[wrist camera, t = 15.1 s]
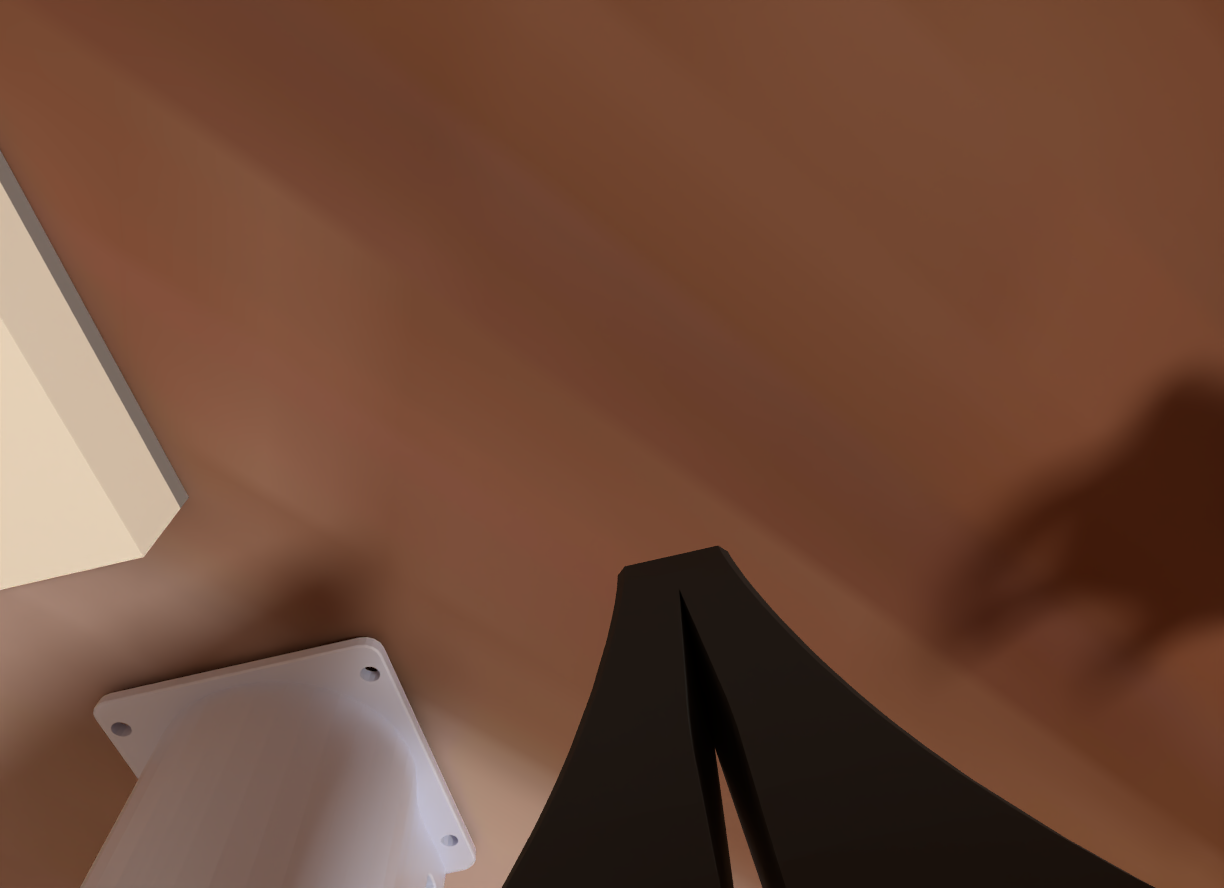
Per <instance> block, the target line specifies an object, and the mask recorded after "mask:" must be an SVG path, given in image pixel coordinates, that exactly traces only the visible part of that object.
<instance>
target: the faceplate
mask: <svg viewBox="0 0 1224 888" xmlns="http://www.w3.org/2000/svg"><path fill="white" fill-rule="evenodd" d="M188 498H189V497H188V495H187V493H186V492H185V490H184V488H183V486H182V484H181V482H180V481H179V479H178V477H177V475H176V473H175V471H174V469H173V468H172V466H171V464H170V462H169V460H168V458H167V457H166V455H165V453H164V451H163V449H162V447H161V446H160V444H159V442H158V440H157V438H156V436H155V434H154V433H153V431H152V429H151V427H150V425H149V423H148V422H147V420H146V418H145V416H144V414H143V412H142V410H141V409H140V407H139V405H138V403H137V401H136V399H135V398H134V396H133V394H132V392H131V390H130V388H129V387H128V385H127V383H126V381H125V379H124V377H123V375H122V374H121V372H120V370H119V368H118V366H117V364H116V363H115V361H114V359H113V357H112V355H111V353H110V352H109V350H108V348H107V346H106V344H105V342H104V340H103V339H102V337H101V335H100V333H99V331H98V329H97V328H96V326H95V324H94V322H93V320H92V318H91V317H90V315H89V313H88V311H87V309H86V307H85V305H84V304H83V302H82V300H81V298H80V296H79V294H78V293H77V291H76V289H75V287H74V285H73V283H72V282H71V280H70V278H69V276H68V274H67V272H66V270H65V269H64V267H63V265H62V263H61V261H60V259H59V258H58V256H57V254H56V252H55V250H54V248H53V247H52V245H51V243H50V241H49V239H48V237H47V235H46V234H45V232H44V230H43V228H42V226H41V224H40V223H39V221H38V219H37V217H36V215H35V213H34V212H33V210H32V208H31V206H30V204H29V202H28V200H27V199H26V197H25V195H24V193H23V191H22V189H21V188H20V186H19V184H18V182H17V180H16V178H15V177H14V175H13V173H12V171H11V169H10V167H9V165H8V164H7V162H6V160H5V158H4V156H3V154H2V153H1V151H0V590H2V589H6V588H11V587H15V586H19V585H24V584H28V583H33V582H37V581H41V580H46V579H50V578H54V577H59V576H63V575H67V574H72V573H76V572H81V571H85V570H89V569H94V568H98V567H102V566H107V565H111V564H115V563H120V562H124V561H129V560H133V559H137V558H142V557H144V556H145V555H146V553H147V552H148V551H149V549H150V548H151V547H152V545H153V544H154V543H155V541H156V540H157V539H158V537H159V536H160V535H161V533H162V532H163V531H164V530H165V528H166V527H167V526H168V524H169V523H170V522H171V520H172V519H173V518H174V516H175V515H176V514H177V512H178V511H179V510H180V508H181V507H182V506H183V504H184V503H185V502H186V500H187V499H188Z"/></svg>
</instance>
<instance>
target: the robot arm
mask: <svg viewBox="0 0 1224 888" xmlns="http://www.w3.org/2000/svg"><path fill="white" fill-rule="evenodd" d="M365 667H374V668H376V669H377V670H378V671H369V670H367V669H366V668H365ZM93 715H94V717H95V719H96V721H97V722H98V723H99V725H100V726H101V728H102V729H103V730H104V732H105V733H106V735H107V736H108V737H109V739H110V740H111V742H112V743H113V744H114V746H115V747H116V749H117V750H118V752H119V753H120V754H121V756H122V757H123V759H124V760H125V761H126V763H127V764H128V766H129V767H130V768H131V770H132V771H133V773H134V774H135V775H136V777H137V778H138V781H137V782H136V784H135V786H134V788H133V790H132V792H131V794H130V795H129V797H128V799H127V801H126V803H125V805H124V807H123V808H122V810H121V812H120V814H119V816H118V818H117V820H116V821H115V823H114V825H113V827H112V829H111V831H110V833H109V834H108V836H107V838H106V840H105V842H104V844H103V846H102V847H101V849H100V851H99V853H98V855H97V857H96V859H95V860H94V862H93V864H92V866H91V868H90V870H89V872H88V873H87V875H86V877H85V879H84V881H83V883H82V885H81V886H80V888H444V884H445V875H446V874H447V873H452V872H457V871H462V870H465V869H468V868H470V867H471V866H472V865H473V864H474V862H475V859H476V848H475V846H474V843H473V841H472V839H471V837H470V835H469V832H468V830H467V828H466V826H465V824H464V822H463V819H462V817H461V815H460V813H459V811H458V808H457V806H456V804H455V802H454V800H453V797H452V795H451V793H450V791H449V789H448V787H447V784H446V782H445V780H444V778H443V776H442V773H441V771H440V769H439V767H438V765H437V762H436V760H435V758H434V756H433V754H432V752H431V749H430V747H429V745H428V743H427V741H426V738H425V736H424V734H423V732H422V730H421V727H420V725H419V723H418V721H417V719H416V717H415V714H414V712H413V710H412V708H411V706H410V703H409V701H408V699H407V697H406V695H405V692H404V690H403V688H402V686H401V684H400V682H399V679H398V677H397V675H396V673H395V671H394V668H393V666H392V664H391V662H390V660H389V657H388V655H387V653H386V651H385V649H384V647H383V646H382V644H381V643H380V642H379V641H377V640H375V639H373V638H369V637H360V638H355V639H351V640H346V641H342V642H337V643H333V644H328V645H324V646H319V647H315V648H310V649H306V650H301V651H297V652H292V653H288V654H284V655H279V656H275V657H270V658H266V659H261V660H257V661H252V662H248V663H243V664H239V665H234V666H230V667H225V668H221V669H217V670H212V671H208V672H203V673H199V674H194V675H190V676H185V677H181V678H176V679H172V680H167V681H163V682H158V683H154V684H149V685H145V686H141V687H136V688H132V689H127V690H123V691H118V692H114V693H109V694H107V695H104V696H103V697H102V698H101V699H100V700H99V701H98V703H97V704H96V706H95V708H94V711H93ZM121 722H122V723H125V724H127V725H125V724H122V723H121ZM715 749H716V752H717V755H718V758H719V761H720V764H721V767H722V770H723V773H724V776H725V779H726V782H727V785H728V788H729V791H730V793H731V796H732V799H733V802H734V805H735V808H736V811H737V814H738V817H739V820H740V823H741V826H742V829H743V832H744V835H745V837H746V840H747V843H748V846H749V849H750V852H751V855H752V858H753V861H754V864H755V867H756V870H757V873H758V876H759V878H760V881H761V884H762V887H763V888H1155V887H1153V886H1151V885H1149V884H1147V883H1145V882H1143V881H1141V880H1139V879H1137V878H1136V877H1134V876H1132V875H1130V874H1129V873H1127V872H1125V871H1123V870H1121V869H1120V868H1118V867H1116V866H1114V865H1113V864H1111V863H1109V862H1107V861H1105V860H1104V859H1102V858H1100V857H1098V856H1097V855H1095V854H1093V853H1091V852H1090V851H1088V850H1086V849H1084V848H1082V847H1081V846H1079V845H1077V844H1075V843H1074V842H1072V841H1070V840H1068V839H1066V838H1065V837H1063V836H1062V835H1060V834H1058V833H1057V832H1055V831H1054V830H1052V829H1050V828H1049V827H1047V826H1046V825H1044V824H1042V823H1041V822H1039V821H1038V820H1036V819H1034V818H1033V817H1031V816H1030V815H1028V814H1026V813H1025V812H1023V811H1022V810H1020V809H1019V808H1017V807H1015V806H1014V805H1012V804H1011V803H1009V802H1007V801H1006V800H1004V799H1003V798H1001V797H999V796H998V795H996V794H995V793H993V792H991V791H990V790H988V789H987V788H985V787H983V786H982V785H980V784H979V783H977V782H975V781H974V780H973V779H971V778H970V777H968V776H967V775H965V774H964V773H962V772H961V771H960V770H958V769H957V768H955V767H954V766H952V765H951V764H950V763H948V762H947V761H945V760H944V759H943V758H941V757H940V756H938V755H937V754H936V753H934V752H933V751H931V750H930V749H929V748H927V747H926V746H924V745H923V744H922V743H920V742H919V741H918V740H917V739H915V738H914V737H913V736H911V735H910V734H909V733H907V732H906V731H905V730H903V729H902V728H901V727H899V726H898V725H897V724H896V723H894V722H893V721H892V720H890V719H889V718H888V717H887V716H885V715H884V714H883V713H882V712H881V711H879V710H878V709H877V708H876V707H874V706H873V705H872V704H871V703H870V702H868V701H867V700H866V699H865V698H864V697H863V696H861V695H860V694H859V693H858V692H857V691H856V690H854V689H853V688H852V687H851V686H850V685H849V684H848V683H847V682H845V681H844V680H843V679H842V678H841V677H840V676H839V675H838V674H837V673H835V672H834V671H833V670H832V669H831V668H830V667H829V666H828V665H827V664H826V663H825V662H823V661H822V660H821V659H820V658H819V657H818V656H817V655H816V654H815V653H814V652H813V651H812V650H811V649H810V648H809V647H808V646H807V645H806V644H805V643H804V642H803V641H802V640H801V639H800V638H799V637H798V636H797V635H796V634H795V633H794V632H793V631H792V630H791V629H790V628H789V627H788V626H787V625H786V624H785V623H784V622H783V621H782V619H781V618H780V617H779V616H778V615H777V614H776V613H775V612H774V611H773V610H772V609H771V607H770V606H769V605H768V604H767V603H766V602H765V601H764V599H763V598H762V597H761V596H760V595H759V593H758V592H757V591H756V590H755V589H754V588H753V586H752V585H751V584H750V583H749V581H748V580H747V579H746V578H745V576H744V575H743V574H742V572H741V571H740V570H739V568H738V567H737V565H736V564H735V562H734V561H733V560H732V558H731V556H730V555H729V553H728V551H726V550H724V549H723V548H721V547H719V546H714V547H710V548H705V549H701V550H696V551H692V552H687V553H683V554H679V555H674V556H670V557H665V558H661V559H656V560H652V561H647V562H643V563H638V564H634V565H629V566H625V567H624V568H623V570H622V571H621V572H620V574H619V575H618V583H617V593H616V599H615V605H614V611H613V616H612V620H611V624H610V629H609V633H608V637H607V641H606V645H605V648H604V652H603V655H602V658H601V662H600V665H599V669H598V672H597V675H596V679H595V682H594V685H593V689H592V692H591V695H590V697H589V700H588V703H587V706H586V708H585V711H584V714H583V716H582V719H581V722H580V724H579V727H578V730H577V732H576V735H575V738H574V740H573V743H572V746H571V748H570V751H569V753H568V756H567V758H566V760H565V763H564V765H563V767H562V770H561V772H560V774H559V777H558V779H557V781H556V783H555V786H554V788H553V790H552V792H551V794H550V796H549V798H548V800H547V803H546V805H545V807H544V809H543V811H542V813H541V815H540V817H539V819H538V821H537V823H536V825H535V827H534V829H533V831H532V833H531V835H530V837H529V839H528V840H527V842H526V844H525V846H524V848H523V850H522V852H521V853H520V855H519V857H518V859H517V861H516V863H515V865H514V866H513V868H512V870H511V872H510V874H509V876H508V877H507V879H506V881H505V883H504V885H503V886H502V888H734V887H733V879H732V872H731V864H730V857H729V850H728V842H727V835H726V827H725V820H724V812H723V805H722V798H721V790H720V783H719V776H718V768H717V761H716V754H715Z"/></svg>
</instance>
